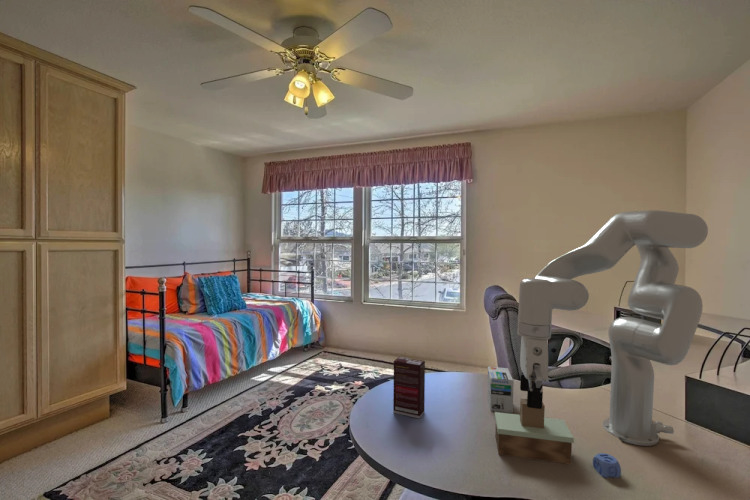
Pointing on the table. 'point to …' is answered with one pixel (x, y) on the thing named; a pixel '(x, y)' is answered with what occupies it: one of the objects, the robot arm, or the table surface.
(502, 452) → the keepsake box
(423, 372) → the supplement box
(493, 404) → the light bulb box
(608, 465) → the decorative dice
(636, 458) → the table surface
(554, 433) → the lid
